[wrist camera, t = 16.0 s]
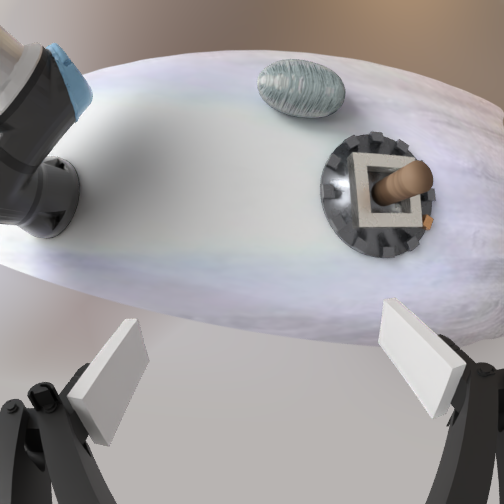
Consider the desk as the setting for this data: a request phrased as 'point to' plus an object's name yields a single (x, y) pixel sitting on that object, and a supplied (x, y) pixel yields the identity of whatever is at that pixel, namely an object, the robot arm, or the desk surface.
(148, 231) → the desk surface
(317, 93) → the grey green streaked ellipsoid
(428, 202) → the sprocket plate
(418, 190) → the drive pin
